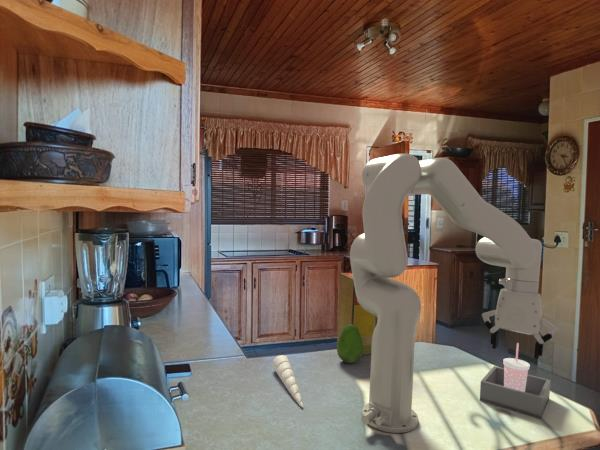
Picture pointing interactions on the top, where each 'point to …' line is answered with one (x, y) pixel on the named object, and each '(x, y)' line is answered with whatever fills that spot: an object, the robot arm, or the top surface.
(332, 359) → the top surface
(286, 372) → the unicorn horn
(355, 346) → the avocado
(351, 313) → the food packaging
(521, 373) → the beverage cup
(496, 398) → the bin
